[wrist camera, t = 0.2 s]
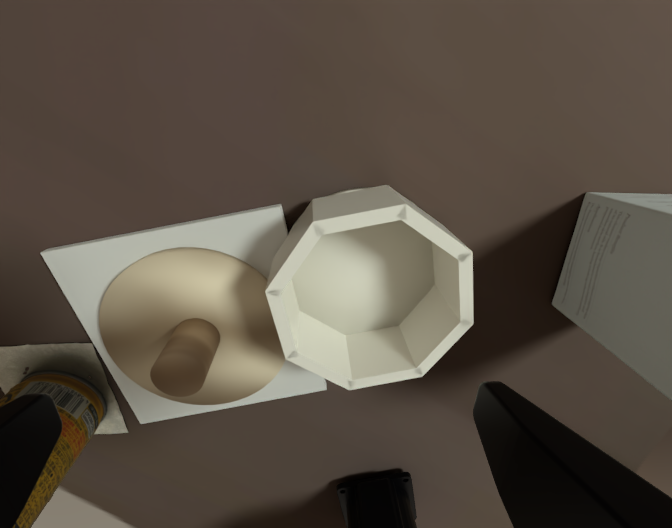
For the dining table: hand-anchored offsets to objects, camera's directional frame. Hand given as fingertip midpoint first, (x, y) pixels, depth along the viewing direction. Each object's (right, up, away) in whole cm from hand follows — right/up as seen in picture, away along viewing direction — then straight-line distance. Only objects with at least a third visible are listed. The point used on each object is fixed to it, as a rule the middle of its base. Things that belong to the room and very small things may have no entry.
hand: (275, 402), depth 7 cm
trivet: (-8, -1, +16) cm, 17 cm away
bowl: (+3, +3, +15) cm, 15 cm away
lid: (-7, -1, +15) cm, 17 cm away
